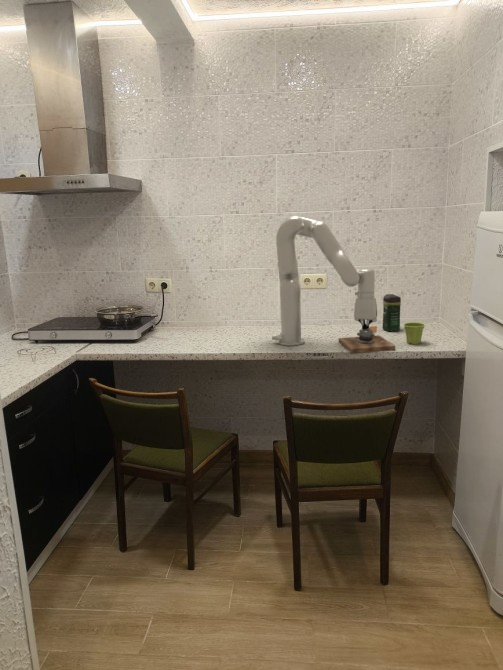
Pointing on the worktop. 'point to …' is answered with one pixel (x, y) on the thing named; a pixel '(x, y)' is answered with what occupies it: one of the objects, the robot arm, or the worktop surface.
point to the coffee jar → (391, 312)
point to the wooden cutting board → (366, 344)
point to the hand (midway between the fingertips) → (365, 333)
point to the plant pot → (414, 332)
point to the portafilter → (367, 333)
